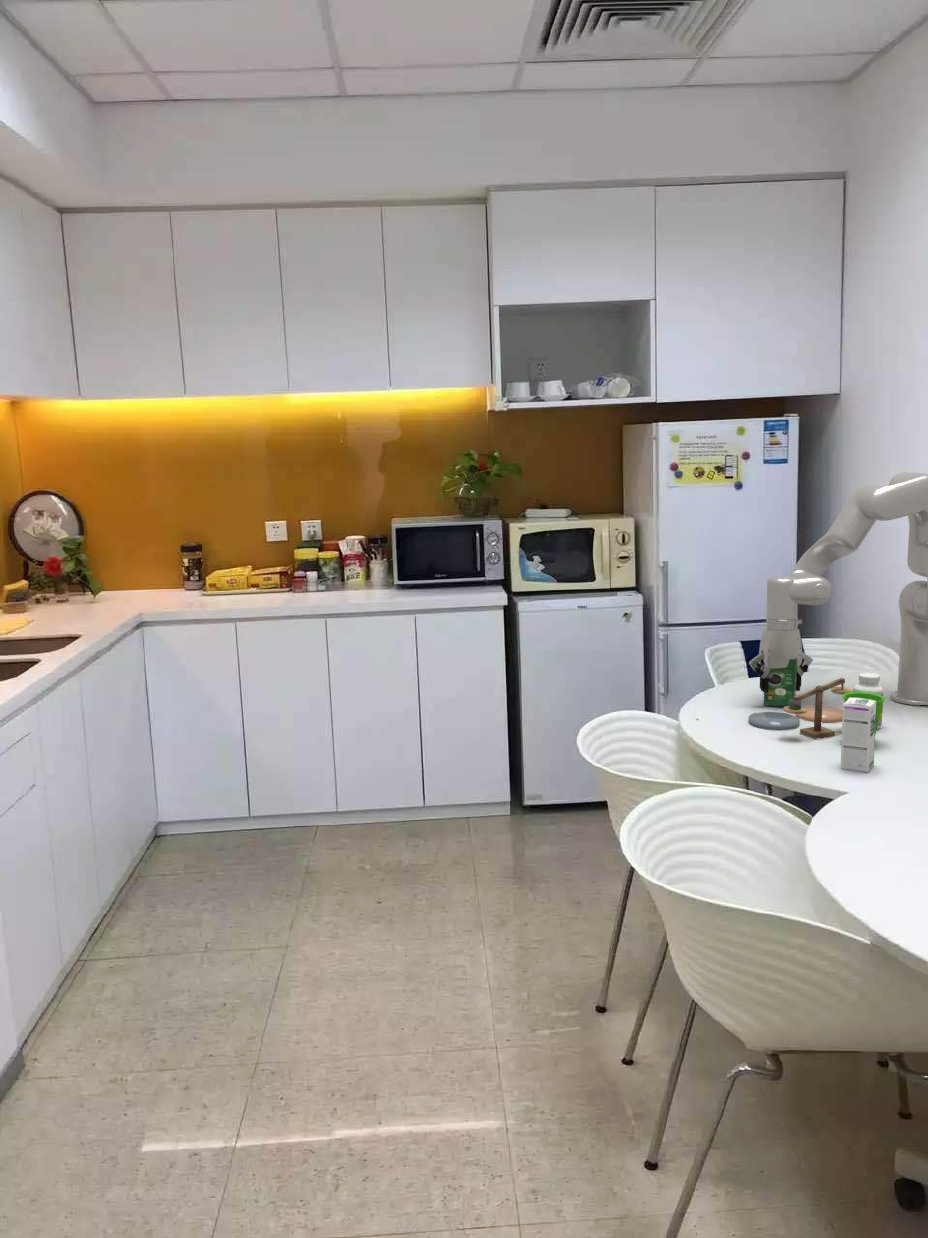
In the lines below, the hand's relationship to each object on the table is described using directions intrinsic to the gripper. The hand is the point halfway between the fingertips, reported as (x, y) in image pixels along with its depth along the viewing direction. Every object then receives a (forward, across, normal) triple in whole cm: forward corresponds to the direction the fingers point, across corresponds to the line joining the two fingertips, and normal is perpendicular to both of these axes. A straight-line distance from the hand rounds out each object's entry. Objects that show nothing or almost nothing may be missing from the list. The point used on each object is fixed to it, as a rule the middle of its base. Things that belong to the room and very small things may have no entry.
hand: (780, 690), depth 261 cm
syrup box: (+5, +4, +48) cm, 48 cm away
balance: (+4, +2, +25) cm, 25 cm away
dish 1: (+4, +8, +14) cm, 16 cm away
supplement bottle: (+5, -13, +21) cm, 25 cm away
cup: (+5, -5, +33) cm, 33 cm away
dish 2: (+5, -6, +10) cm, 13 cm away
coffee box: (+4, 0, 0) cm, 4 cm away
